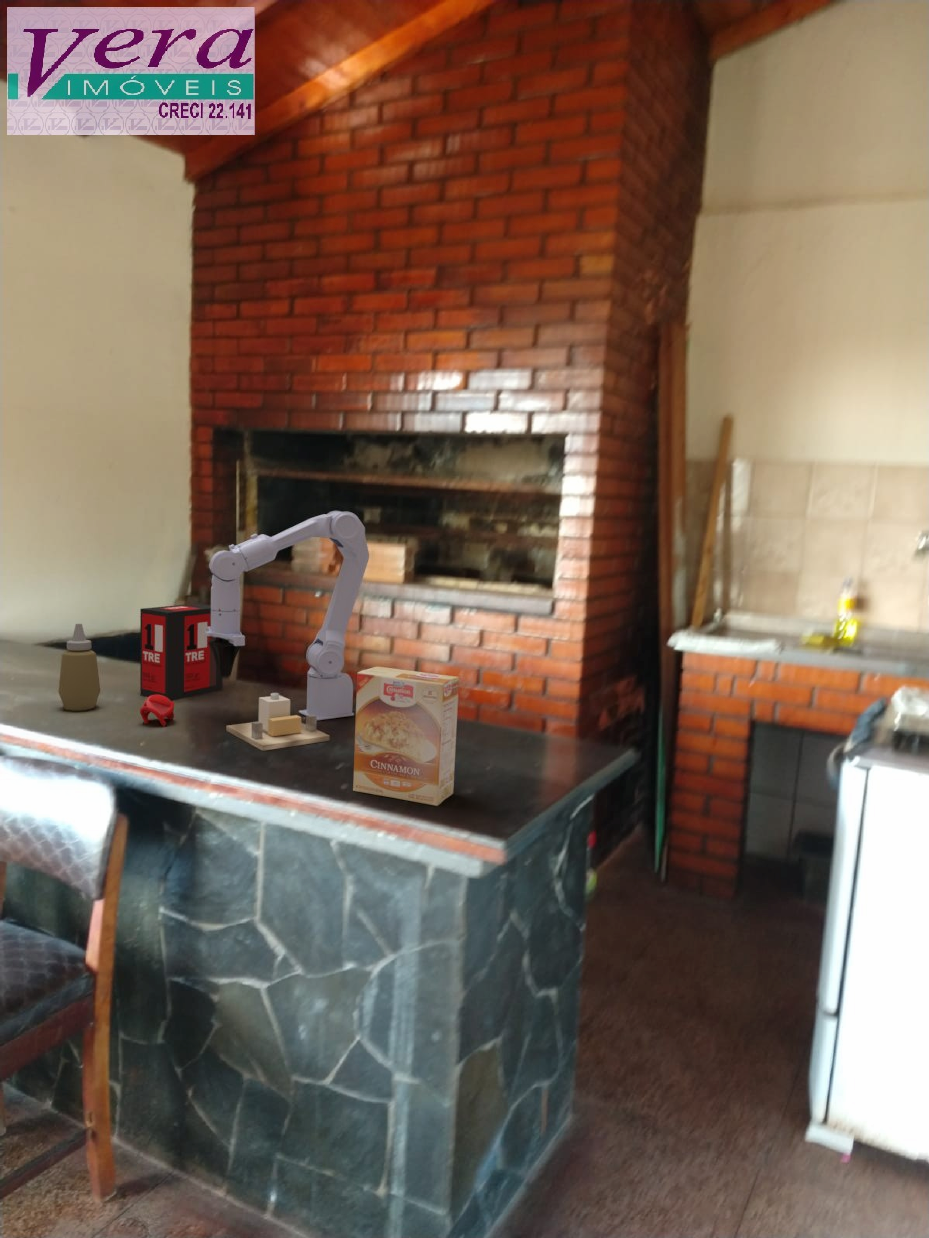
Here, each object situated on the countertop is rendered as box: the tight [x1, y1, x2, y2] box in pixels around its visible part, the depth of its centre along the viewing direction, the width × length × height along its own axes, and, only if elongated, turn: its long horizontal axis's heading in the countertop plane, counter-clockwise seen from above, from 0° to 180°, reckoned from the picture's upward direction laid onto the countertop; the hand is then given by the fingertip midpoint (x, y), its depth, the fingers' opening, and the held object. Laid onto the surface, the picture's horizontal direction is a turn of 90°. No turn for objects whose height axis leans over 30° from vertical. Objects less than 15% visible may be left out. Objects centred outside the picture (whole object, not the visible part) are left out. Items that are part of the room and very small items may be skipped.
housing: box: [258, 692, 291, 732], centre depth 167 cm, size 4×4×7 cm
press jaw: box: [268, 714, 302, 736], centre depth 164 cm, size 6×2×3 cm, turn 129°
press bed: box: [225, 714, 330, 752], centre depth 166 cm, size 14×16×4 cm
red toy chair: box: [139, 695, 175, 727], centre depth 171 cm, size 8×6×6 cm
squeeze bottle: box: [58, 623, 101, 712], centre depth 179 cm, size 8×8×18 cm
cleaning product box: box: [139, 603, 224, 702], centre depth 197 cm, size 16×9×20 cm, turn 150°
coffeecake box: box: [352, 666, 460, 807], centre depth 136 cm, size 15×7×20 cm, turn 69°
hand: (224, 675), depth 175 cm, fingers closed
